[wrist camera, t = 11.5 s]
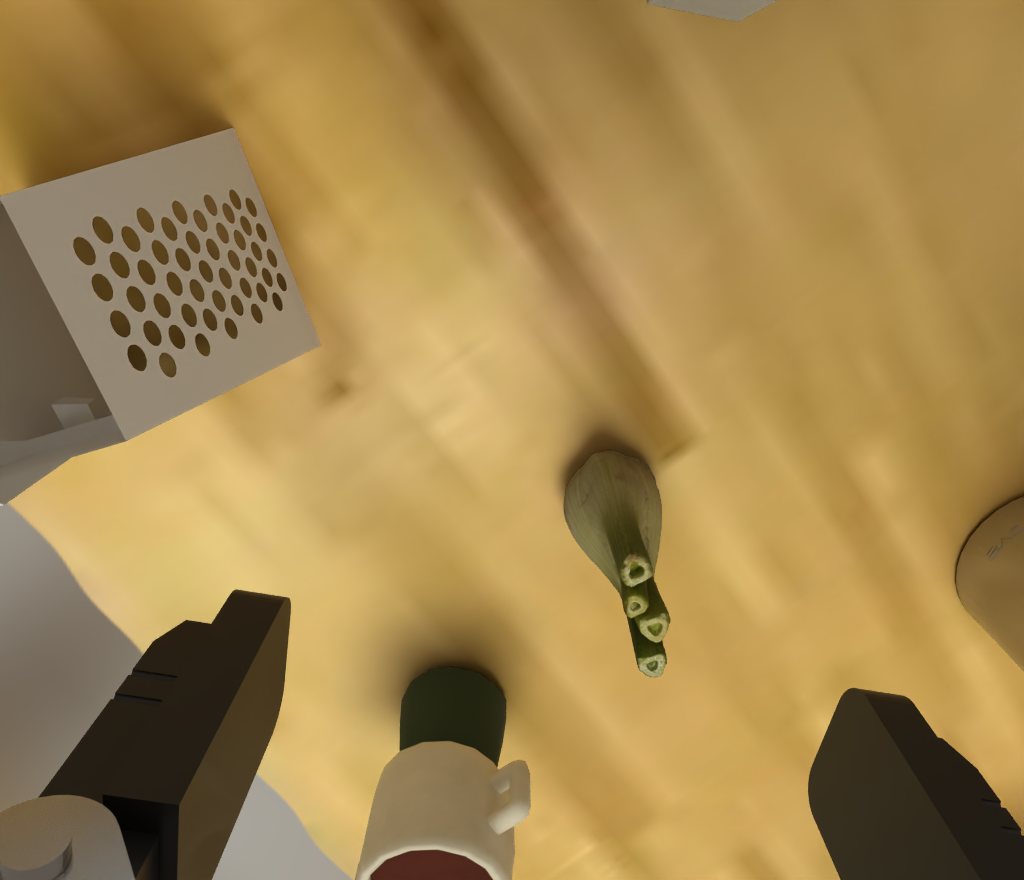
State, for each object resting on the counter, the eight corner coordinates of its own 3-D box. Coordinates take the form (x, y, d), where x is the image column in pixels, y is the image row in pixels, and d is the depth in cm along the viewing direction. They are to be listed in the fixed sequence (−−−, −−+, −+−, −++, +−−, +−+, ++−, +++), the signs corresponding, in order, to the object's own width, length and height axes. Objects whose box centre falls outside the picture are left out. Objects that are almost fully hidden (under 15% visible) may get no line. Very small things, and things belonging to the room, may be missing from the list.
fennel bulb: (634, 545, 42) (676, 692, 31) (548, 525, 41) (559, 666, 30) (668, 451, 40) (726, 572, 29) (578, 429, 39) (601, 542, 28)
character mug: (425, 780, 48) (394, 994, 36) (348, 709, 46) (288, 910, 34) (563, 694, 46) (579, 893, 33) (487, 614, 44) (475, 796, 31)
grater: (233, 127, 34) (-106, 110, 16) (320, 345, 38) (130, 541, 19) (27, 197, 35) (-517, 259, 17) (131, 402, 39) (-222, 639, 20)
